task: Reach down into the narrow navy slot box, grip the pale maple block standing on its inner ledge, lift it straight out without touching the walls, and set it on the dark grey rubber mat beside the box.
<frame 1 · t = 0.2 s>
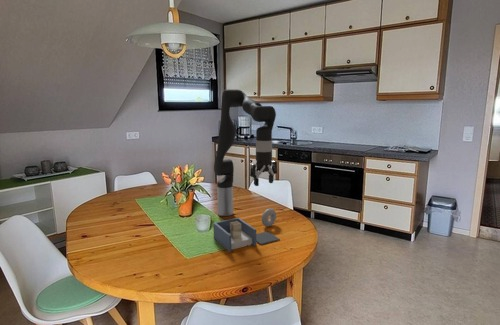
hand: (263, 184, 148), 28 cm above the table, tool pointing down, fingers open, 8 cm apart
rubber mat: (264, 238, 156), on the table
maple block: (235, 236, 151), point 3 cm above the table, touching slot box
slot box: (234, 242, 152), on the table
donut: (269, 226, 172), on the table
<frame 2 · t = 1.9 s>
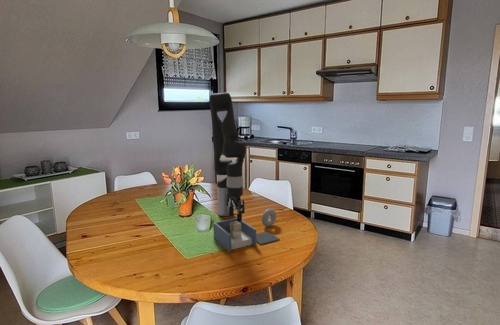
hand: (235, 218, 149), 12 cm above the table, tool pointing down, fingers open, 8 cm apart
nothing on the table moved.
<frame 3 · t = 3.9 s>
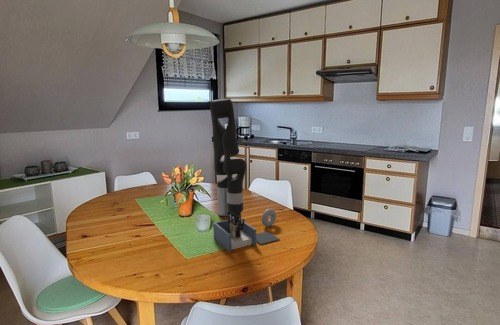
hand: (235, 235, 151), 4 cm above the table, tool pointing down, fingers closed on maple block, 4 cm apart
maple block: (235, 236, 151), point 3 cm above the table, touching gripper, slot box
everything else where it was.
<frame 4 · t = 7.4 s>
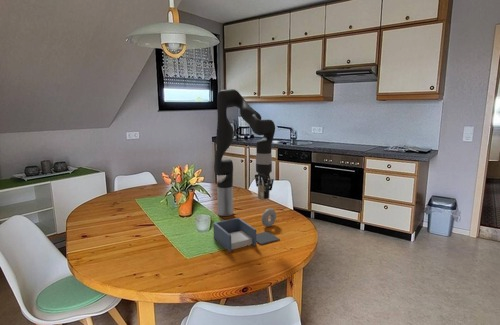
hand: (263, 197, 152), 21 cm above the table, tool pointing down, fingers closed on maple block, 4 cm apart
maple block: (263, 198, 152), point 20 cm above the table, touching gripper
everything else where it was.
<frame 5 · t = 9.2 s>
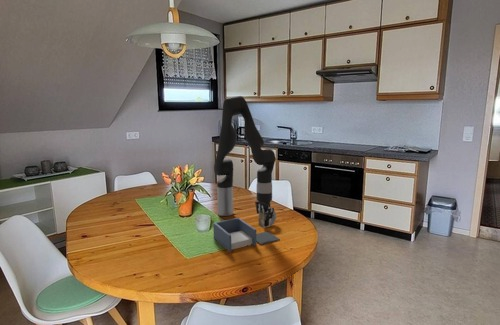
hand: (264, 224, 155), 7 cm above the table, tool pointing down, fingers closed on maple block, 4 cm apart
maple block: (264, 225, 155), point 7 cm above the table, touching gripper
everything else where it was.
when the fingers open (3 cm above the table, at t = 10.8 s): maple block drops 1 cm, resting on rubber mat.
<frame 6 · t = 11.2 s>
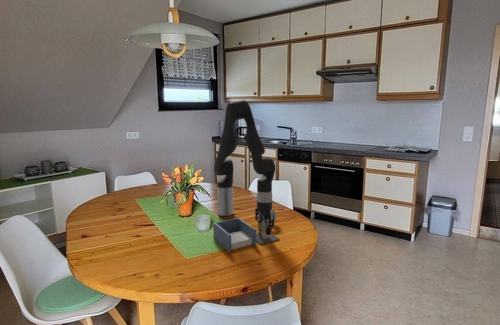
hand: (264, 231, 156), 3 cm above the table, tool pointing down, fingers open, 7 cm apart
maple block: (264, 237, 156), point 1 cm above the table, touching rubber mat
everything else where it was.
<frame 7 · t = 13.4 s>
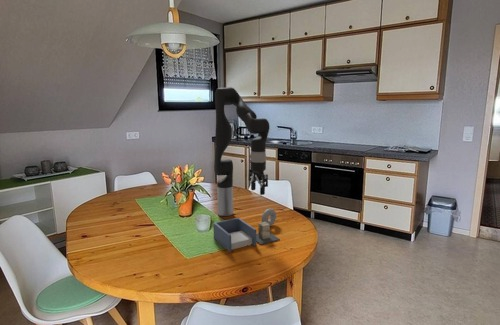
hand: (257, 192, 156), 22 cm above the table, tool pointing down, fingers open, 8 cm apart
nothing on the table moved.
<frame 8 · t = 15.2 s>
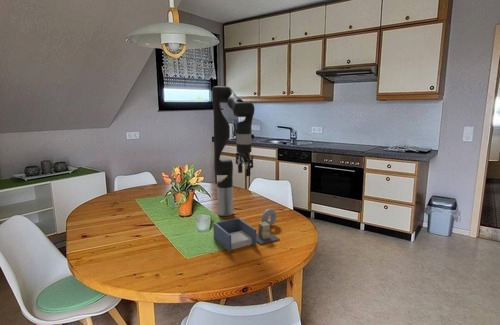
hand: (244, 174, 161), 30 cm above the table, tool pointing down, fingers open, 8 cm apart
nothing on the table moved.
at the end: maple block inside the target area on the rubber mat (0.2 cm from its centre), point 0.6 cm above the rubber mat's base; maple block tilted 0°; maple block touching rubber mat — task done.
